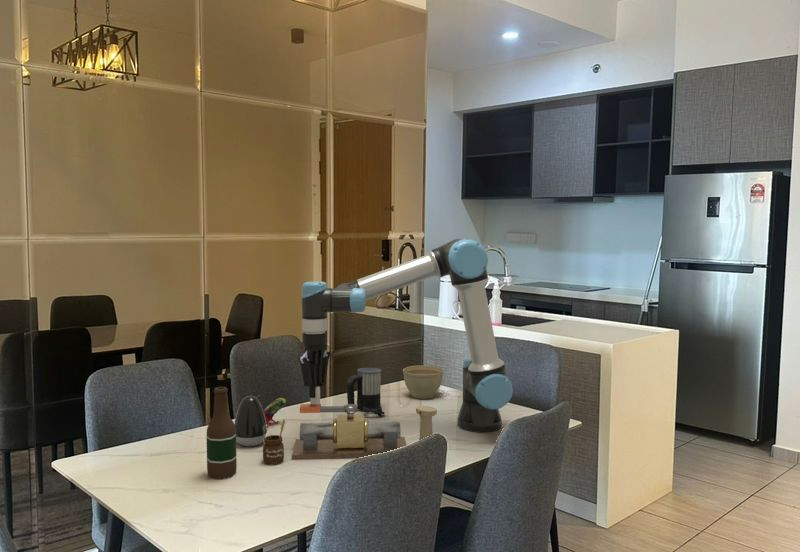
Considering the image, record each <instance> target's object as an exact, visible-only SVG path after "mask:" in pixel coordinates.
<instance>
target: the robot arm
mask: <svg viewBox="0 0 800 552" xmlns="http://www.w3.org/2000/svg"><path fill="white" fill-rule="evenodd" d="M488 261H489V256H488V253H487V250H486V249H485V247H483V245H482V244H481V243H479V242H478V241H475V240H474V239H469V238H456V239H453V240H451V241H449V242H446V243H444V244H443V245H441V246H438V247H435V248H433V249H430V250H429V251H428V253H427V254H425V255H423V256H420V257H416V258H414V259H412V260H409V261H406V262H402V263H400V264H397V265H394V266H392V267H389V268H386V269H384V270H380V271H378V272H375V273H372V274H370V275H366V276H364V277H361V278H358V279H356V280H353V281H350V282H346V283H341V284H339V285H337V287H336V288H333V287H328V286H327V282H325V281H306V282H303V284H302V286H301V287H302V288H301V289H302V290H301V312H302V313H301V315H302V316H301V317H302V319H301V320H302V322H301V323H302V325H301V326H302V332H303V333H302V338H301V339H302V340H301V342H302V345H303V346H304V350H303V354H302V356H299V357H298V358H297V359H298V362H299V364H300V368H301V374H302V378H303V385H304V387H306V388H307V387H308V388H309V389H308V390H309V393H308V395H309V398H310V399H309V400H310V402H309V403H310V404H321V394H322V389H321V388H322V387H324V385H325V383H326V381H327V376H328V375H327V374H328V368H329V361H330V360H329V359H330V357H331V354H332V353H331V351H328V350H327V349H326V345H327V343H328V333H327V330H328V316H327V315H328V314H327V313H353V314H354V313H355V314H356V313H363V312H365V310H366V306H367V305H366V301H368V300H371V299H374V298H377V297H380V296H382V295H385V294H389V293H390V292H394V291H398V290H400V289H403V288H405V287H408V286H411V285H415V284H417V283H420V282H422V281H425V280H427V279H431V278H433V277H437V278H442V277H445V276H449V277H450V278H449V279H450V282H451V286H452V287H453V288H455V289H456V291H457V293H458V298H459V304H460V310H461V313H462V314H461V315H462V319H463V323H464V324H463V325H464V330H465V334H466V335H465V336H466V340H467V345H468V350H469V351H468V352H469V354H470V355H469V356H470V358H468V359H464V361H463V363H462V369H461V370H462V403H461V407H460V409H459V412H458V415H457V420H456V422H457V426H459V427H458V428H460V429H462V430H465V431H469V432H478V433H489V432H494V431H499V430H500V429H502V426H503V419H502V416H501V413H500V409H502V408H503V407H505V406H506V405H508V403H509V402H510V401H511V399H512V397H513V391H514V390H513V389H514V388H513V384H512V382H511V380H510V379H509V377H508V376H507V375H508V374H507V370H506V365H505V361H504V360H502V359H501V358H500V357H499V354H498V349H497V344H496V339H495V333H494V327H493V322H492V318H491V312H490V306H489V301H488V296H487V291H486V286H485V284H486V283H487V282H488V280H489V276H488V270H487V267H488V263H489V262H488Z"/></svg>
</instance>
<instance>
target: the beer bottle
mask: <svg viewBox="0 0 800 552" xmlns="http://www.w3.org/2000/svg"><path fill="white" fill-rule="evenodd" d="M228 391H229V390H228V388H227V386H217V387H215V388H214V389H213V394H214V400H213V401H214V402H213V412H212V413H213V414H212V418H211V420H210V421H209V423H208V425H207V428H206V470H207V475H208V476H209V478H211V479H212V478H214V480H225V479H228V477H229V478H232V477H233V476H234V475H235V474H236V473H237V468H238V467H237V465H238V464H237V440H236V427H235V425H234V423H235V421H233V420H232V418H231V417H230V413H229V404H228ZM224 478H225V479H224Z"/></svg>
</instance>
